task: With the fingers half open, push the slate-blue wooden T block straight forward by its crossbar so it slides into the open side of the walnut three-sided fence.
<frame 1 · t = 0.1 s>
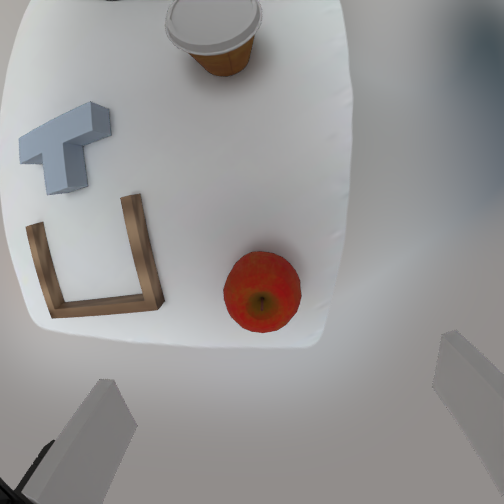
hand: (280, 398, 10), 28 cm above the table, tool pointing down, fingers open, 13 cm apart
disposable coffee cup: (225, 56, 32), on the table
t block: (73, 156, 35), on the table
walnut fence: (91, 256, 38), on the table
apple: (262, 273, 38), on the table
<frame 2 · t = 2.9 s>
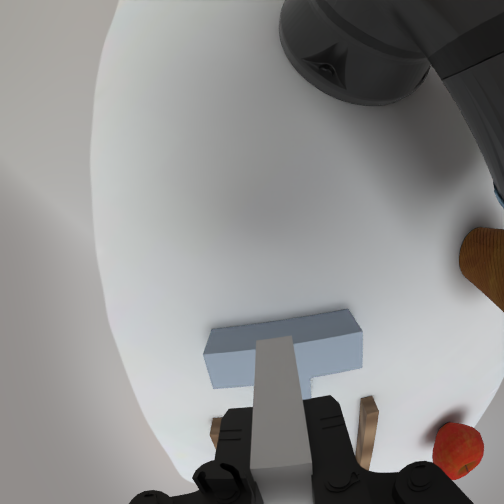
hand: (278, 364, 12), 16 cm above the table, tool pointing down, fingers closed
disposable coffee cup: (476, 253, 27), on the table
t block: (286, 360, 30), on the table
walnut fence: (297, 443, 33), on the table
apple: (443, 426, 33), on the table
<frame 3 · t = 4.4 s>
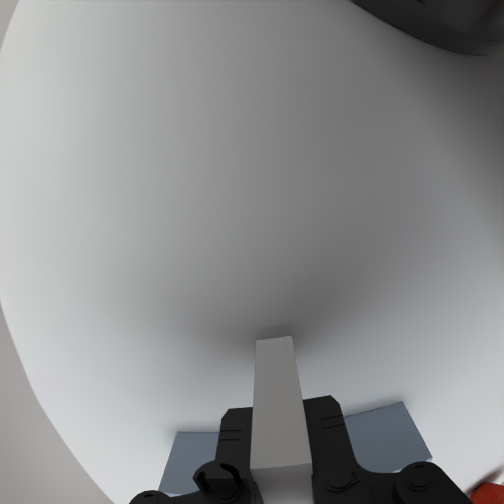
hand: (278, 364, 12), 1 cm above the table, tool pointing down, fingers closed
t block: (296, 468, 16), on the table
apple: (478, 486, 19), on the table
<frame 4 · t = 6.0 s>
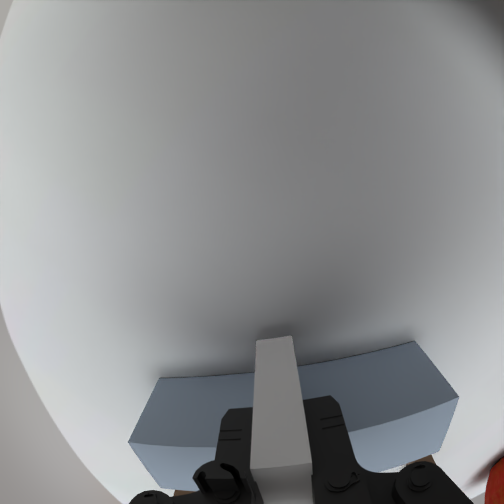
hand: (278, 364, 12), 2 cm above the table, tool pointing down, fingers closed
t block: (296, 429, 15), on the table, touching gripper
apple: (497, 460, 18), on the table
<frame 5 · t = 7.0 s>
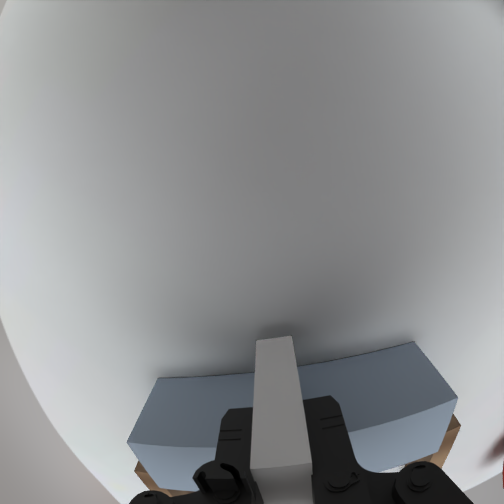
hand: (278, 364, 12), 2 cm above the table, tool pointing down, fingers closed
t block: (295, 430, 15), on the table, touching gripper
walnut fence: (302, 485, 17), on the table
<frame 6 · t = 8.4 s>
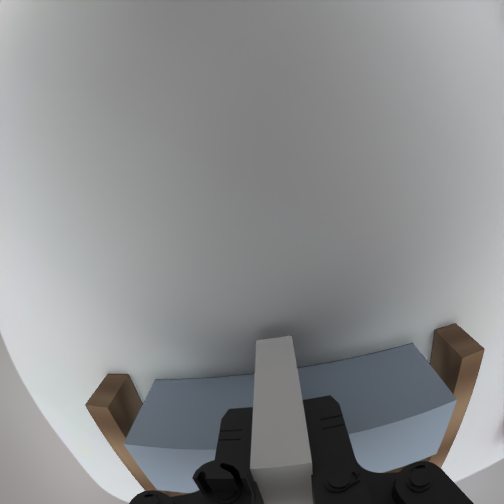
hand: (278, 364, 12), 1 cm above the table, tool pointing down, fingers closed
t block: (293, 431, 15), on the table, touching gripper
walnut fence: (294, 446, 15), on the table
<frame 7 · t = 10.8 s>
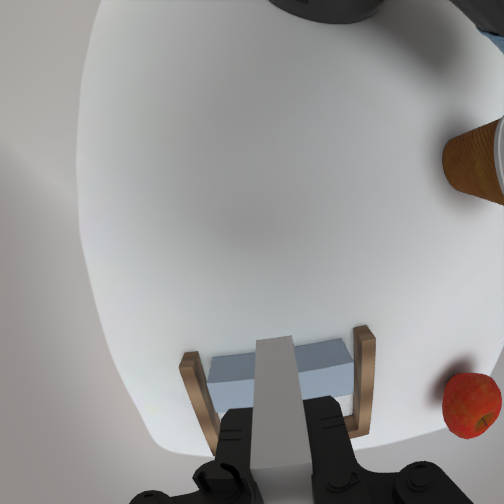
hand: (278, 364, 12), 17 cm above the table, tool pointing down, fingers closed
disposable coffee cup: (461, 164, 26), on the table
t block: (282, 384, 31), on the table
walnut fence: (283, 391, 32), on the table
apple: (450, 379, 32), on the table
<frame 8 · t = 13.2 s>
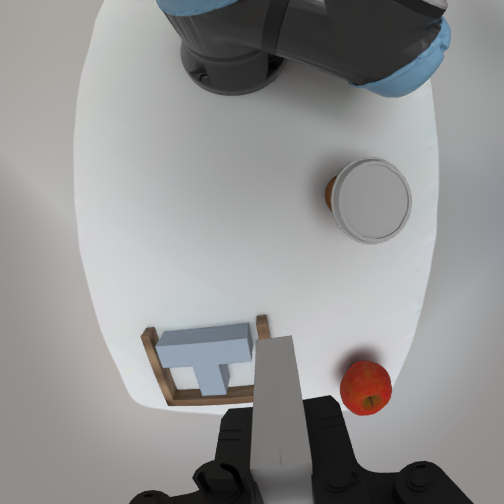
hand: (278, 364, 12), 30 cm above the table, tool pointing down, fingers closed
disposable coffee cup: (345, 195, 40), on the table
t block: (211, 353, 47), on the table
walnut fence: (213, 359, 47), on the table
apple: (356, 365, 47), on the table
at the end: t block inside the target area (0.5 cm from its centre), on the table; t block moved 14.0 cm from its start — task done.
